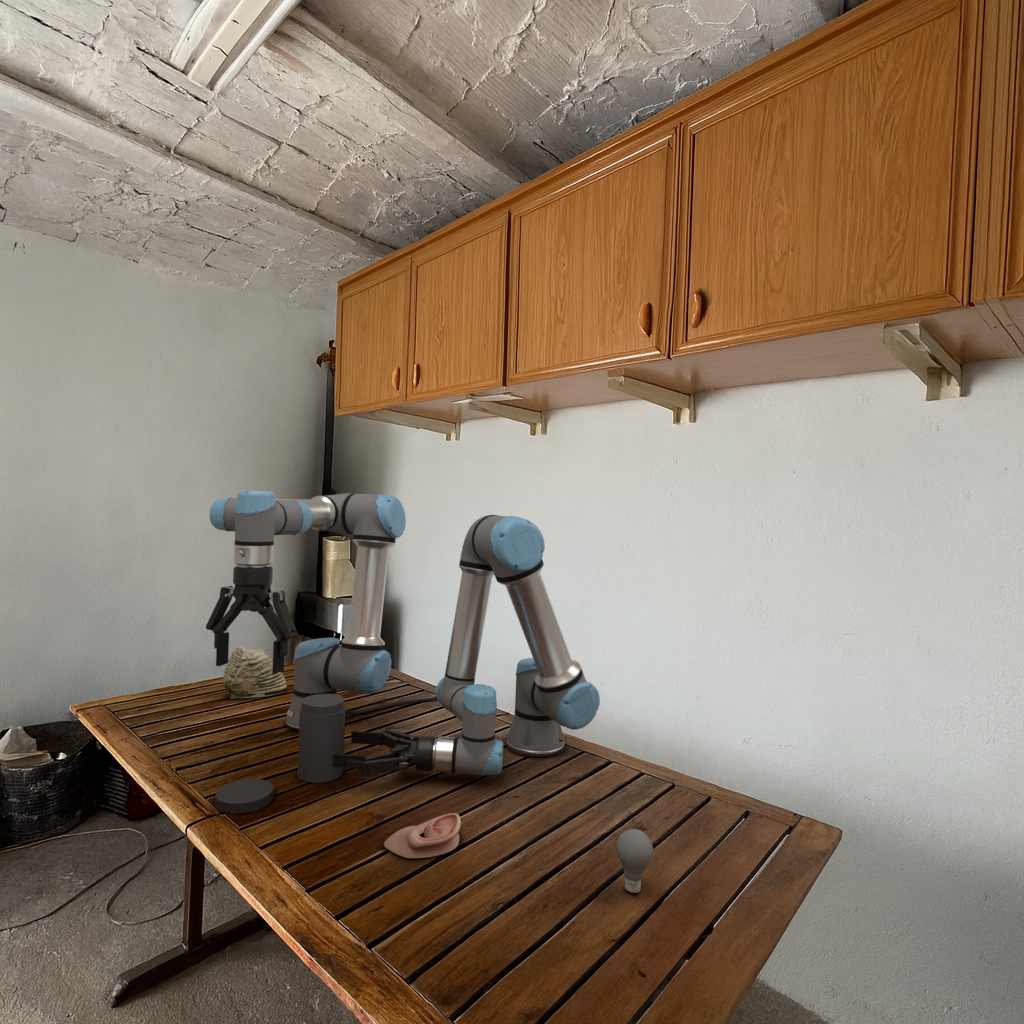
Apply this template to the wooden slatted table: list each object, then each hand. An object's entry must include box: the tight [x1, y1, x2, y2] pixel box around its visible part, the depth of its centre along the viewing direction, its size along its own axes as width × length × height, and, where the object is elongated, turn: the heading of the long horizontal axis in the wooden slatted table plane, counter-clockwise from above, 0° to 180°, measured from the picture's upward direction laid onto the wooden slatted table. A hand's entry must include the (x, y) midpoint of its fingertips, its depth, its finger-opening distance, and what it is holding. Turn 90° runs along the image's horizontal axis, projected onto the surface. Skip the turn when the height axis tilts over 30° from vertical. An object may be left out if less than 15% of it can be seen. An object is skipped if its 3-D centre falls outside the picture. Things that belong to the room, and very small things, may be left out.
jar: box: [296, 694, 346, 784], centre depth 145 cm, size 10×10×17 cm
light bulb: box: [615, 828, 654, 894], centre depth 106 cm, size 6×6×10 cm
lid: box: [214, 778, 275, 815], centre depth 131 cm, size 11×11×2 cm
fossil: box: [222, 646, 288, 699], centre depth 198 cm, size 9×18×15 cm, turn 132°
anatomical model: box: [383, 812, 462, 859], centre depth 117 cm, size 13×4×12 cm
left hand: (249, 668), depth 130 cm, fingers open, 13 cm apart
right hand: (342, 748), depth 145 cm, fingers open, 13 cm apart
